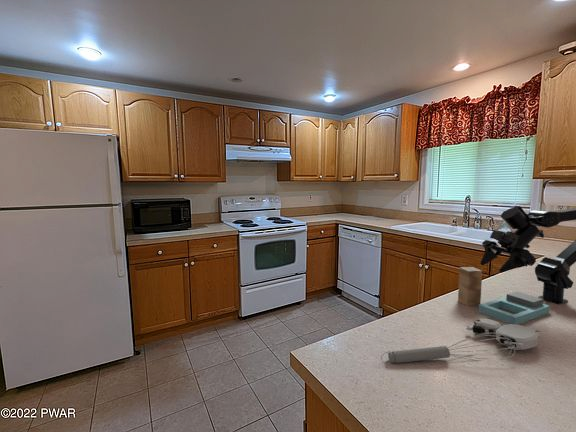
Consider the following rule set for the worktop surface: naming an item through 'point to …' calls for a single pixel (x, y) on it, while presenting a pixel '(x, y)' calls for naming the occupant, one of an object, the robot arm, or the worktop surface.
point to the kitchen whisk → (435, 352)
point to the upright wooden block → (470, 286)
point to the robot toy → (507, 333)
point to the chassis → (515, 308)
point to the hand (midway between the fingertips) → (490, 268)
